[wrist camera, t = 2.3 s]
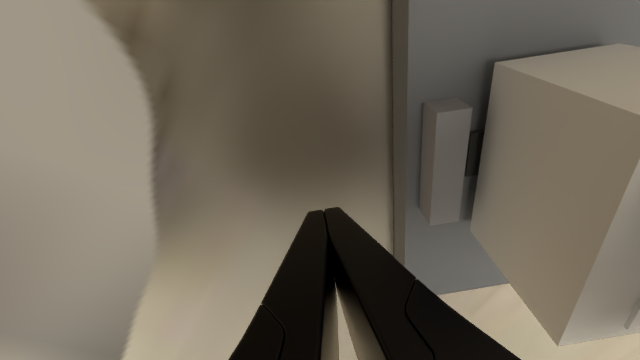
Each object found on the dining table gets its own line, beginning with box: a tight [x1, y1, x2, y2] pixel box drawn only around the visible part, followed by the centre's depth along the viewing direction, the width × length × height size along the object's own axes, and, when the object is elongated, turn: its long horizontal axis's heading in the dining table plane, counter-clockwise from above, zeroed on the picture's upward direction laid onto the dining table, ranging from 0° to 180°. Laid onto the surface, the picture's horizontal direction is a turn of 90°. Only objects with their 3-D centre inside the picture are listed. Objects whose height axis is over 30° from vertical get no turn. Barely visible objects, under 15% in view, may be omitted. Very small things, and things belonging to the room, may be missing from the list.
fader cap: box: [470, 43, 640, 346], centre depth 9 cm, size 6×4×5 cm, turn 7°
